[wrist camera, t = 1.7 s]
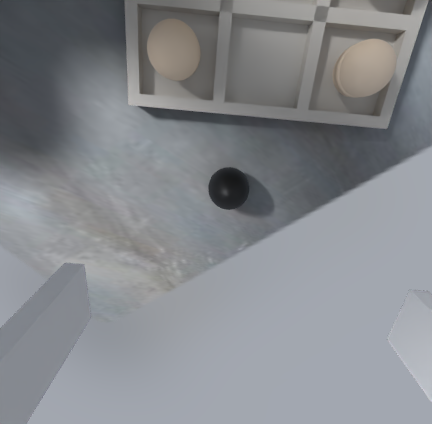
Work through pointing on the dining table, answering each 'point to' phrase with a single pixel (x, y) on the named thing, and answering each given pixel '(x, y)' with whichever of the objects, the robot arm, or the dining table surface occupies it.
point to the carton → (272, 57)
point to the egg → (228, 188)
